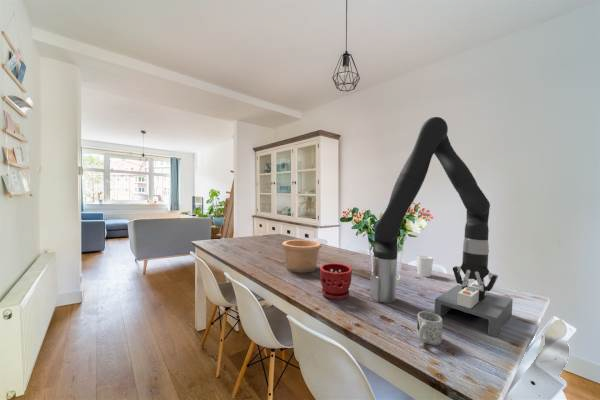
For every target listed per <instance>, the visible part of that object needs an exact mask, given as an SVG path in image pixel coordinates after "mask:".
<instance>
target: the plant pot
mask: <svg viewBox="0 0 600 400" xmlns="http://www.w3.org/2000/svg"><path fill="white" fill-rule="evenodd" d="M319 269H320V271H319V275H320V284H321V287H322V288H321V293H322V295H323V296H324V297H326V298H327V299H331V300H344V299H346V298H348V297H349V295H350V291H349V288H350V286H351V285H352V275H353V272H352V271H353V269H352V268H351V267H350V266H348V265H346V264H343V263H334V262H333V263H324V264H323V265H321V266H320V268H319ZM331 270H332V271H331Z"/></svg>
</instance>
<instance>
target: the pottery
mask: <svg viewBox="0 0 600 400" xmlns="http://www.w3.org/2000/svg"><path fill="white" fill-rule="evenodd" d="M281 245H282V247H283V248H284V256H285V267H286V270H287V271H289V272H293V273H299V274H300V273H302V274H304V273H305V274H306V273H311V272H314V271H316V269H317V262H318V258H319V256H318V255H319V251H320V249H321V248H322V243H321V242H318V241H315V240H310V239H290V240H285V241H283V242H282V244H281Z"/></svg>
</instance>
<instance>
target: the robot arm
mask: <svg viewBox="0 0 600 400" xmlns="http://www.w3.org/2000/svg"><path fill="white" fill-rule="evenodd" d="M448 132H449V129H448V124H447V122H446V120H445V119H443V118H442V117H439V116H434V117H430V118H428V119H427V120H426V121H424V123H423V124H422V125H421V127H420V130H419V133H418V136H417V139H416V141H415V144H414V146H413V149H412V151H411V153H410V155H409V157H408V158H407V160H406V161H405V164H404V165H403V167H402V169H401V171H400V173H399V175H398V177H397V179H396V181H395V183H394V186H393V189H392V191H391V195H390V198H389V201H388V204H387V207H386V208H385V210H384V212H383V214H382V216H380V218H379V219H377V221H376V223H375V225H374V239H373V240H374V241H373V242H374V244H373V258H372V259H373V262H372V264H373V265H372V273H370V288H369V297H371V298H372V299H373V300H375V302H377V303H380V302H381V303H389V304H391V303H394V302H396V294H397V292H396V291H397V267H398V265H397V264H398V237H399V236H398V235H399V234H400V233H399V232H400V229H401V226H402V223H403V221H404V218H405V216H406V214H407V212H408V210H409V209H410V207H411V206H412V204H413V202H414V200H415V199H416V197H417V195H418V193H419V192H420V189H421V188H422V186H423V183H424V181H425V180H426V176H427V173H428V172H429V167H430V164H431V161H432V158H433V155H434V156H435V157H436V158H437V160H438V162H439V163H440V164H441V167H442V168H443V170H444V173H445V175H446V176H447V177H448V180H449V181H450V182H451V184H452V187H453V188H454V189H455V191H456V192H457V193H458V196H459V198H460V200H461V202H462V204H463V206H464V208H465V210H466V221H465V222H466V223H465V226H464V239H463V245H462V264H461V265H460V266H457V265H455V266H453V267H452V271H453V273H454V278H455V281H456V283H457V285H461V286H462V290H463V289H464V288H466V287H467V286H469V285H468V284H469V283H470V280H474V281H477V282H478V285H479V288H480V291H479V301H482V300H484V298H485V291H487V292H491V290H492V289H493V287H494V286H495V284H496V282H497V280H498V278H499V276H498V274H496V273H495V274H494V273H492V272H490V270H489V267H488V265H489V252H490V250H489V249H490V248H489V231H490V230H489V218H490V207H491V204H490V201H489V200H488V198H487V196H486V195H485V194H484V192H483V191H482V189H481V188H480V186H479V185H478V181H476V179H475V177H474V176H473V173H472V172H471V170H470V168H469V167H468V166H467V165H466V163H465V162H464V161H463V160H462V158H461V157H460V156H459V155H458V154H457V153H456V151H455V149H454V148H453V146H452V143H451V141H450V139H449V136H448ZM461 272H463V274H464V276H463V279H462V275H461ZM487 276H488V279H489V282H488V283H487V284H488V286H485V278H486V277H487Z"/></svg>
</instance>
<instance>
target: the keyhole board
mask: <svg viewBox="0 0 600 400" xmlns="http://www.w3.org/2000/svg"><path fill="white" fill-rule="evenodd" d="M461 290H462V285H461V284H457V285H455V286H453V287H452V288H451V289H449V290H447V291H445V292H444V293H442V294H441V295H439V296H437V297H436V298H435V299H434V310H433V311H434V312H433V313H434V314H437V315H439V316H440V317H441V318H442V316H444V315H446V314H447V313H448V312H449V311H451V310H452V309H455V310H459V311H461V312H463V311H464V313H465V312H467V313H466V314H471V315H474V316H477V317H479V318H484V319H485V320H488V326H487V327H488V328H487V335H488V336H490V337H494V338H497V336H498V335H499V334H500V332H501V331H502V330H503V328H504V327H505V325H506V324H507V323H508V321H509V319H510V318H511V317H512V316H513V315H512V314H513V302H514V301H513V297H511V298H510V297H507V296H505V295H500V294H496V293H492V292H489V291H487V295H486V296H485V298H484V300H482V301H479V302H478V303H477V304H475V305H474V306H473V307H472V308H471V309H470V308H467V307H464V306H461V305H457V298H458V292H460V291H461Z"/></svg>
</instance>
